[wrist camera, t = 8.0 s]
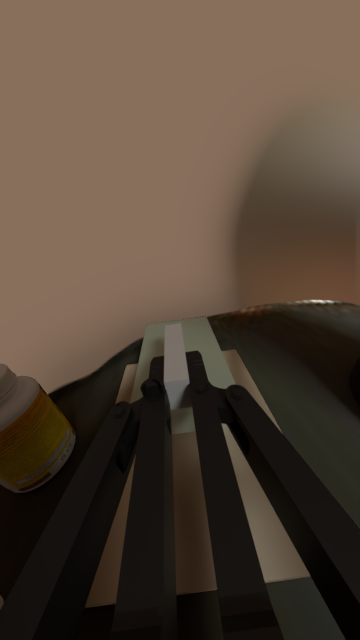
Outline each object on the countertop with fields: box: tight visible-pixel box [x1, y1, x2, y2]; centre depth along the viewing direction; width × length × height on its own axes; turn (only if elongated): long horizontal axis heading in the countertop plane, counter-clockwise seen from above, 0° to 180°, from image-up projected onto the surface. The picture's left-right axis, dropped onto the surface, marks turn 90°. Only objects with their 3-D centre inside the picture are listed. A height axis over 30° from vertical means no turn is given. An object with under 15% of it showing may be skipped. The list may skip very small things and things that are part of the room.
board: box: [85, 349, 311, 608], centre depth 17 cm, size 16×18×1 cm
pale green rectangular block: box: [130, 316, 235, 434], centre depth 22 cm, size 10×3×16 cm
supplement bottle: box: [0, 364, 76, 493], centre depth 14 cm, size 6×6×10 cm
